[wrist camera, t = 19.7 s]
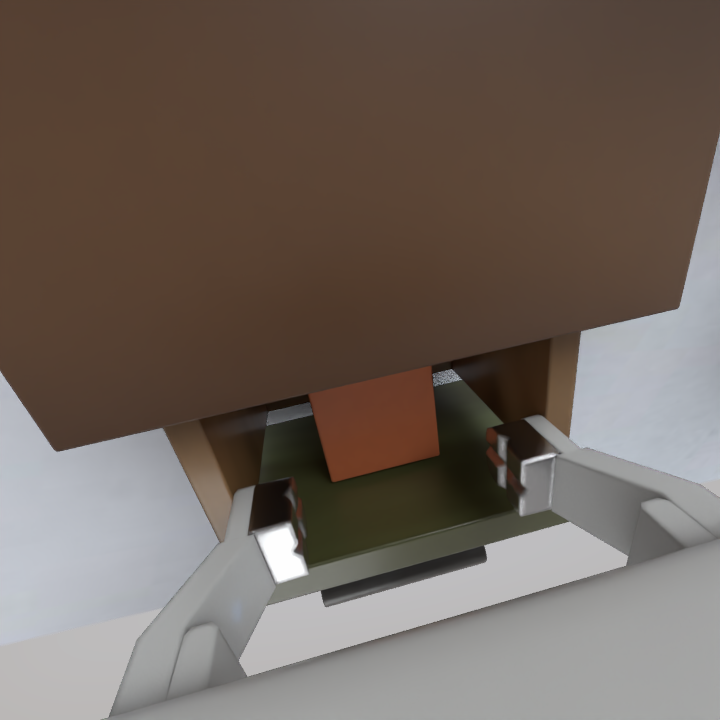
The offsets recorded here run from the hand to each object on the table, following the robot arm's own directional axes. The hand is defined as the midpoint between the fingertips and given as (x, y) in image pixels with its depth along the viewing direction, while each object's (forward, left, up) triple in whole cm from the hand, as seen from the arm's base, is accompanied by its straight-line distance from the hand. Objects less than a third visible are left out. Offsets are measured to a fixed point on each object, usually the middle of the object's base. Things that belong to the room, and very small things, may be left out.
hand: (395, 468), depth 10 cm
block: (0, 0, -6) cm, 6 cm away
